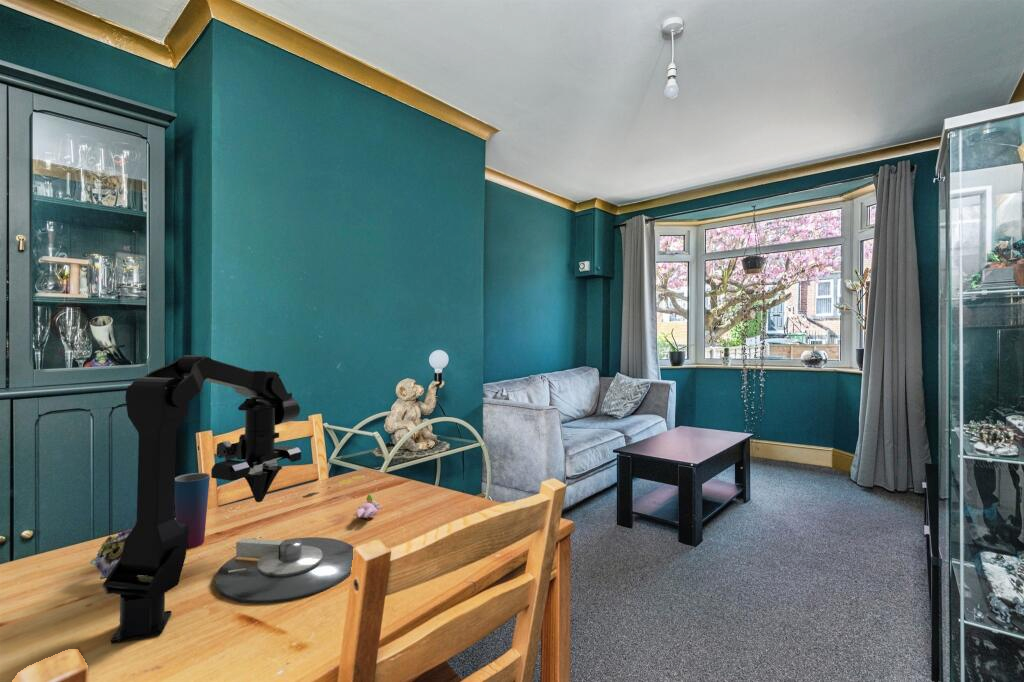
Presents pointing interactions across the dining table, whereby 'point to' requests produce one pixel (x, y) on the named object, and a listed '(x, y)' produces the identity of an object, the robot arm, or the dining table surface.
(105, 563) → the passion flower
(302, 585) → the dial plate
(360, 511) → the purple flower
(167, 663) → the dining table surface
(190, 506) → the cup
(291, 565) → the dial
